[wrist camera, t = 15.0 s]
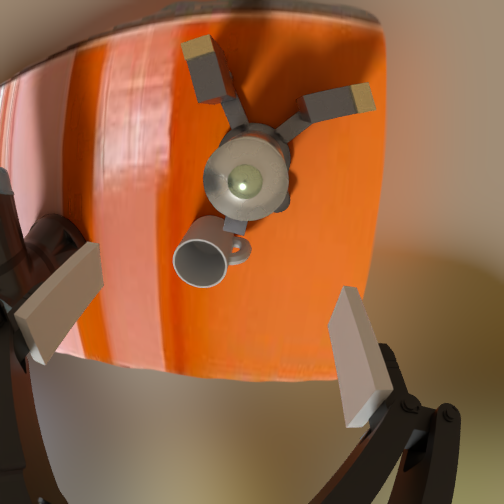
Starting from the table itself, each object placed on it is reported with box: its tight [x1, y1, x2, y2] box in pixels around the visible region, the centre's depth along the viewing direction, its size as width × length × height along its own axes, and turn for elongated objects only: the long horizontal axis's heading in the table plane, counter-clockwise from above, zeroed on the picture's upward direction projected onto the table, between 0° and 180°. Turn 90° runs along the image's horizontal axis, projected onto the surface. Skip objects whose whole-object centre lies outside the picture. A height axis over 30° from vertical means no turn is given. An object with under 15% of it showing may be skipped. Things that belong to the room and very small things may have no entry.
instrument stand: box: [203, 89, 313, 236], centre depth 32 cm, size 13×16×15 cm
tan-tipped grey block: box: [296, 82, 376, 123], centre depth 30 cm, size 7×3×12 cm, turn 108°
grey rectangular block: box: [181, 35, 237, 105], centre depth 29 cm, size 7×3×12 cm, turn 14°
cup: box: [173, 215, 252, 288], centre depth 41 cm, size 7×10×9 cm
